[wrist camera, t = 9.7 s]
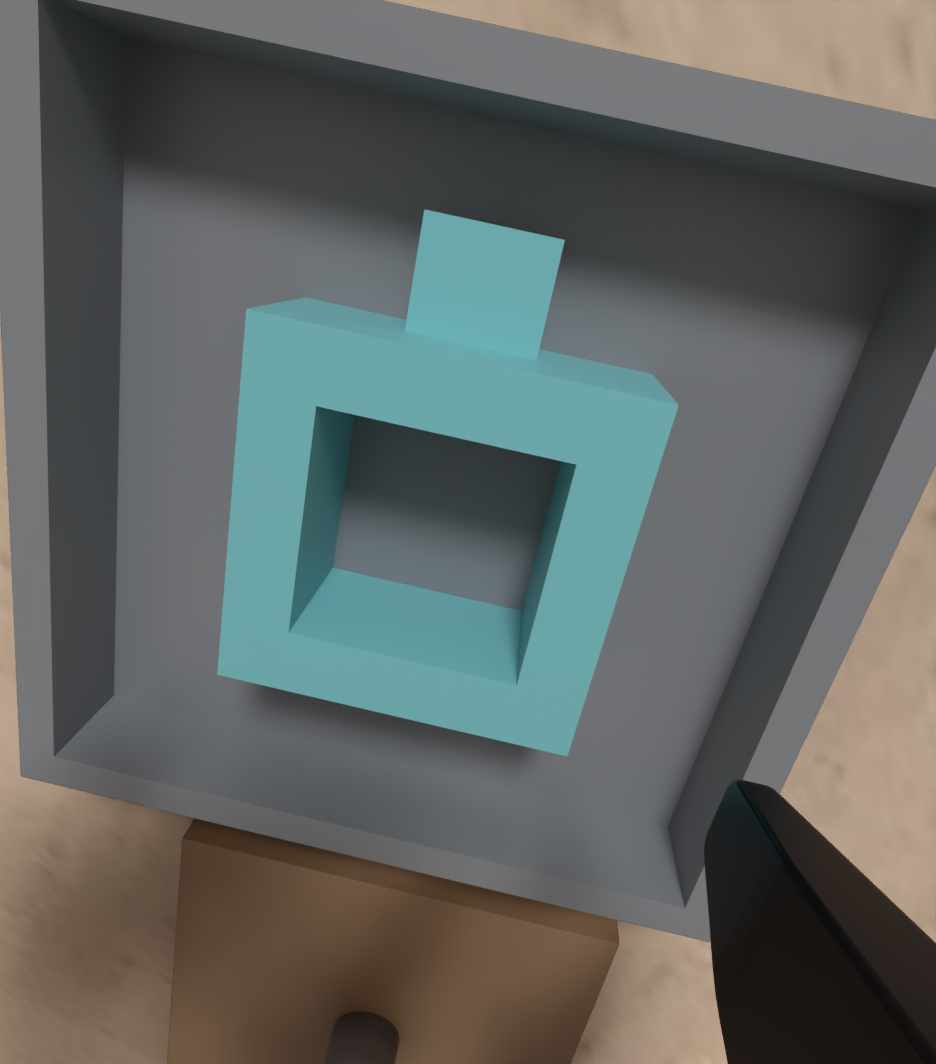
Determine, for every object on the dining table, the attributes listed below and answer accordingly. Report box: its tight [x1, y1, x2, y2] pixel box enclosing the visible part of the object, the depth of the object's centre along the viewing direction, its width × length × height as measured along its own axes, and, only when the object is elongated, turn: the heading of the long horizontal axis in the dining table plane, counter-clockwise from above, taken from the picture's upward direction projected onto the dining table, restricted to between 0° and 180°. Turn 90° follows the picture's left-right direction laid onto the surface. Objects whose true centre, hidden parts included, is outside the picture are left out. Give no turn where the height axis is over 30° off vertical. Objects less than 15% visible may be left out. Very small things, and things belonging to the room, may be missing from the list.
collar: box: [217, 209, 679, 756], centre depth 14 cm, size 7×9×3 cm
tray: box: [0, 0, 936, 942], centre depth 15 cm, size 16×16×3 cm
